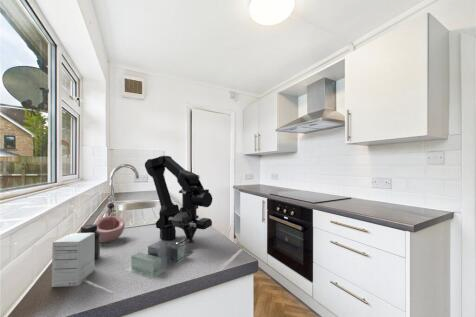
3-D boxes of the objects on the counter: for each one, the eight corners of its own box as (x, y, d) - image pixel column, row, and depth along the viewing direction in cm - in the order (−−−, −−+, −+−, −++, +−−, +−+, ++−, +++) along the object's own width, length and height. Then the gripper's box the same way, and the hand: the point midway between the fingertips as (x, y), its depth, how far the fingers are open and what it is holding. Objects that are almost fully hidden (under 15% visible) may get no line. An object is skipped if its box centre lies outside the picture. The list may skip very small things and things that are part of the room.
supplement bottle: (104, 256, 74) (105, 224, 74) (85, 265, 67) (85, 229, 68) (91, 254, 76) (92, 222, 76) (71, 262, 70) (72, 227, 70)
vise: (124, 272, 63) (124, 257, 63) (171, 248, 81) (171, 236, 81) (151, 281, 58) (151, 265, 58) (194, 254, 76) (194, 241, 76)
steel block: (147, 264, 67) (147, 246, 67) (161, 256, 72) (161, 240, 72) (157, 267, 65) (157, 248, 65) (171, 259, 70) (171, 242, 70)
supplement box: (70, 273, 63) (71, 232, 63) (95, 272, 63) (95, 232, 64) (50, 287, 55) (51, 241, 56) (78, 286, 56) (79, 240, 56)
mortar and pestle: (94, 249, 81) (94, 220, 81) (91, 240, 90) (91, 215, 90) (127, 241, 89) (127, 215, 89) (121, 234, 98) (121, 210, 98)
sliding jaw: (156, 254, 73) (156, 243, 73) (178, 243, 84) (178, 233, 84) (177, 260, 69) (177, 248, 69) (198, 247, 79) (198, 237, 80)
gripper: (157, 206, 79) (157, 245, 79) (195, 210, 71) (196, 254, 71) (177, 201, 89) (177, 236, 89) (212, 204, 82) (212, 243, 81)
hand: (189, 242), depth 82 cm, fingers closed, pressing on sliding jaw
